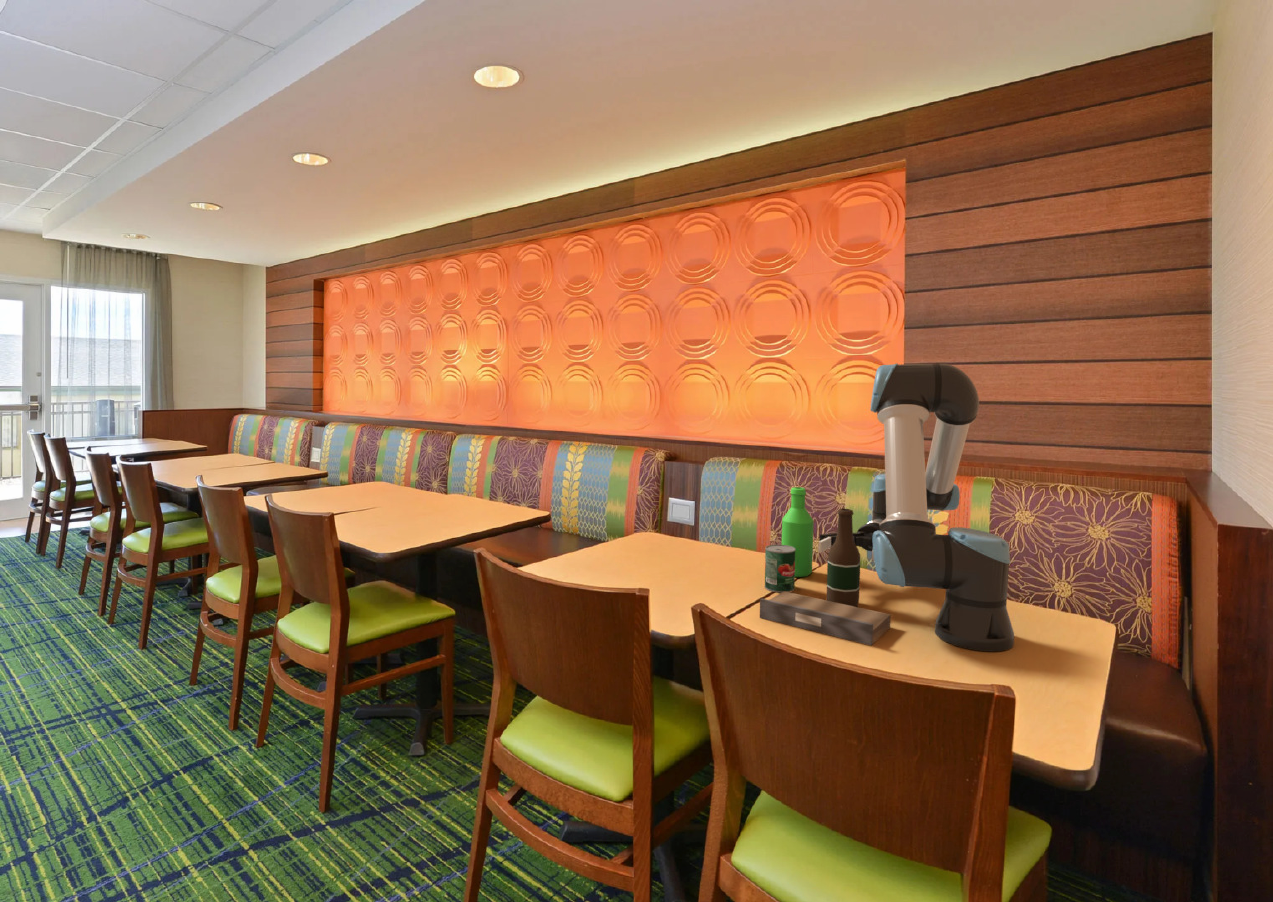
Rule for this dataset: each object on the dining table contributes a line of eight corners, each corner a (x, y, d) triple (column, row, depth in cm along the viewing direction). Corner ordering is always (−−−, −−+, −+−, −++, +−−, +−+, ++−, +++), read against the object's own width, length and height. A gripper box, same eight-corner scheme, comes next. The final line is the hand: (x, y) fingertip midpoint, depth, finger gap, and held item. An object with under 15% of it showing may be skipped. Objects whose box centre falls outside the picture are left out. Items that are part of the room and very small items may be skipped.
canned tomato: (768, 581, 178) (769, 543, 177) (797, 585, 175) (798, 546, 173) (761, 590, 171) (761, 550, 170) (791, 594, 167) (791, 553, 166)
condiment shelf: (890, 627, 145) (890, 607, 145) (870, 645, 135) (871, 625, 135) (783, 602, 161) (784, 585, 161) (759, 617, 151) (759, 599, 151)
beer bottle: (861, 610, 155) (864, 513, 153) (827, 608, 157) (830, 512, 154) (856, 600, 163) (860, 507, 160) (824, 598, 165) (827, 505, 162)
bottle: (776, 569, 190) (778, 485, 187) (805, 568, 190) (807, 485, 188) (786, 578, 181) (788, 490, 178) (816, 577, 182) (819, 490, 179)
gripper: (921, 556, 170) (896, 575, 153) (830, 541, 185) (798, 557, 169) (922, 528, 169) (898, 544, 152) (831, 516, 184) (799, 529, 168)
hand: (845, 551), depth 161 cm, fingers open, 13 cm apart
